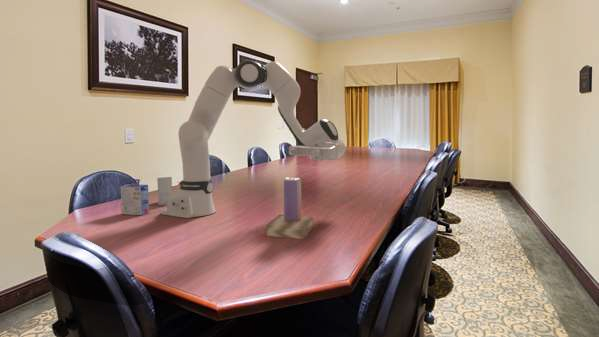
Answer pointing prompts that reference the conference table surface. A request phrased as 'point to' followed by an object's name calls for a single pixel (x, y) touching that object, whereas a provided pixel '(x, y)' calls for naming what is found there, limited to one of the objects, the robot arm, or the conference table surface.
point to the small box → (164, 188)
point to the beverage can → (292, 199)
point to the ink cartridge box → (135, 198)
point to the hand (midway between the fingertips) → (300, 152)
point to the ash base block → (290, 227)
